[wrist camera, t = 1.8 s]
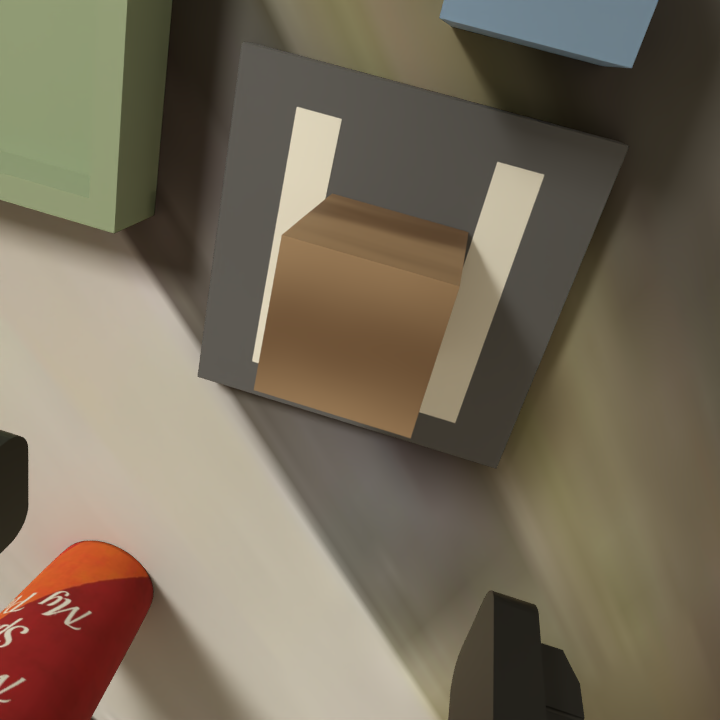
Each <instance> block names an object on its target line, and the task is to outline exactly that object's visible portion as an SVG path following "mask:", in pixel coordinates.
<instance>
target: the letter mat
mask: <svg viewBox="0 0 720 720" xmlns="http://www.w3.org/2000/svg"><path fill="white" fill-rule="evenodd" d="M628 148H629V146H628V145H626V144H625V143H623V142H619V141H616V140H612V139H608V138H605V137H601V136H597V135H593V134H590V133H586V132H582V131H579V130H575V129H571V128H567V127H564V126H560V125H556V124H553V123H549V122H545V121H541V120H538V119H534V118H530V117H526V116H523V115H519V114H515V113H512V112H508V111H504V110H500V109H497V108H493V107H489V106H486V105H482V104H478V103H474V102H471V101H467V100H463V99H460V98H456V97H452V96H448V95H445V94H441V93H437V92H434V91H430V90H426V89H422V88H419V87H415V86H411V85H408V84H404V83H400V82H396V81H393V80H389V79H385V78H382V77H378V76H374V75H370V74H367V73H363V72H359V71H355V70H352V69H348V68H344V67H341V66H337V65H333V64H329V63H326V62H322V61H318V60H315V59H311V58H307V57H303V56H300V55H296V54H292V53H289V52H285V51H281V50H277V49H274V48H270V47H266V46H263V45H259V44H255V43H249V42H242V46H241V53H240V61H239V68H238V76H237V83H236V91H235V99H234V106H233V114H232V121H231V129H230V136H229V144H228V151H227V159H226V166H225V174H224V182H223V189H222V197H221V204H220V212H219V219H218V227H217V234H216V242H215V249H214V257H213V265H212V272H211V280H210V287H209V295H208V302H207V310H206V317H205V325H204V333H203V340H202V348H201V355H200V363H199V370H198V377H200V378H204V379H207V380H210V381H213V382H217V383H220V384H223V385H226V386H230V387H233V388H236V389H239V390H243V391H246V392H249V393H252V394H256V395H259V396H262V397H265V398H268V399H272V400H275V401H278V402H281V403H285V404H288V405H291V406H294V407H298V408H301V409H304V410H307V411H311V412H314V413H317V414H320V415H324V416H327V417H330V418H333V419H337V420H340V421H343V422H346V423H350V424H353V425H356V426H359V427H363V428H366V429H369V430H372V431H376V432H379V433H382V434H385V435H389V436H392V437H395V438H398V439H402V440H405V441H408V442H411V443H415V444H418V445H421V446H424V447H427V448H431V449H434V450H437V451H440V452H444V453H447V454H450V455H453V456H457V457H460V458H463V459H466V460H470V461H473V462H476V463H479V464H483V465H486V466H489V467H492V468H497V466H498V463H499V461H500V459H501V456H502V454H503V451H504V449H505V446H506V444H507V442H508V439H509V437H510V434H511V432H512V430H513V427H514V425H515V422H516V420H517V417H518V415H519V413H520V410H521V408H522V405H523V403H524V400H525V398H526V396H527V393H528V391H529V388H530V386H531V383H532V381H533V379H534V376H535V374H536V371H537V369H538V366H539V364H540V362H541V359H542V357H543V354H544V352H545V349H546V347H547V345H548V342H549V340H550V337H551V335H552V332H553V330H554V328H555V325H556V323H557V320H558V318H559V315H560V313H561V311H562V308H563V306H564V303H565V301H566V298H567V296H568V294H569V291H570V289H571V286H572V284H573V281H574V279H575V277H576V274H577V272H578V269H579V267H580V264H581V262H582V260H583V257H584V255H585V252H586V250H587V247H588V245H589V243H590V240H591V238H592V235H593V233H594V230H595V228H596V226H597V223H598V221H599V218H600V216H601V213H602V211H603V209H604V206H605V204H606V201H607V199H608V196H609V194H610V192H611V189H612V187H613V184H614V182H615V179H616V177H617V175H618V172H619V170H620V167H621V165H622V162H623V160H624V158H625V155H626V153H627V150H628ZM331 194H336V195H339V196H343V197H346V198H350V199H353V200H357V201H360V202H364V203H367V204H371V205H375V206H378V207H382V208H385V209H389V210H392V211H396V212H399V213H403V214H406V215H410V216H413V217H417V218H420V219H424V220H428V221H431V222H435V223H438V224H442V225H445V226H449V227H452V228H456V229H459V230H463V231H466V232H469V233H468V239H467V245H466V252H465V258H464V264H463V270H462V277H461V283H460V288H459V291H458V294H457V297H456V300H455V303H454V306H453V309H452V312H451V315H450V319H449V322H448V325H447V328H446V331H445V334H444V337H443V340H442V343H441V346H440V349H439V352H438V355H437V358H436V362H435V365H434V368H433V371H432V374H431V377H430V380H429V383H428V386H427V389H426V392H425V395H424V398H423V401H422V404H421V408H420V411H419V414H418V417H417V420H416V423H415V426H414V429H413V432H412V435H411V438H408V437H405V436H402V435H398V434H395V433H392V432H389V431H385V430H382V429H379V428H376V427H372V426H369V425H366V424H363V423H359V422H356V421H353V420H350V419H346V418H343V417H340V416H337V415H333V414H330V413H327V412H324V411H320V410H317V409H314V408H311V407H307V406H304V405H301V404H298V403H294V402H291V401H288V400H285V399H281V398H278V397H275V396H272V395H268V394H265V393H262V392H259V391H255V390H254V385H255V380H256V374H257V369H258V363H259V358H260V352H261V347H262V341H263V336H264V330H265V325H266V319H267V314H268V308H269V302H270V297H271V291H272V286H273V280H274V275H275V269H276V264H277V258H278V253H279V247H280V242H281V236H282V234H283V233H285V232H286V231H287V230H288V229H289V228H291V227H292V226H293V225H294V224H296V223H297V222H298V221H299V220H300V219H302V218H303V217H304V216H305V215H306V214H308V213H309V212H310V211H311V210H313V209H314V208H315V207H316V206H317V205H319V204H320V203H321V202H322V201H323V200H325V199H326V198H327V197H328V196H330V195H331Z"/></svg>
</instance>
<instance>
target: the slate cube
mask: <svg viewBox="0 0 720 720" xmlns="http://www.w3.org/2000/svg"><path fill="white" fill-rule="evenodd" d="M657 3H658V0H444V2H443V6H442V10H441V13H440V17H439V18H440V19H442V20H443V21H444V22H446V23H447V24H449V25H450V26H451V27H455V28H459V29H463V30H466V31H470V32H474V33H478V34H482V35H486V36H489V37H493V38H497V39H501V40H505V41H508V42H512V43H516V44H520V45H524V46H527V47H531V48H535V49H539V50H543V51H546V52H550V53H554V54H558V55H562V56H565V57H569V58H573V59H577V60H581V61H585V62H588V63H592V64H596V65H600V66H606V67H621V68H632V66H633V64H634V61H635V59H636V56H637V53H638V51H639V48H640V46H641V43H642V41H643V38H644V36H645V33H646V31H647V28H648V25H649V23H650V20H651V18H652V15H653V13H654V10H655V8H656V5H657Z"/></svg>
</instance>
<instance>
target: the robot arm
mask: <svg viewBox="0 0 720 720" xmlns="http://www.w3.org/2000/svg"><path fill="white" fill-rule="evenodd" d="M27 511H28V444H27V441H26V440H25V439H24V438H23V437H21V436H18V435H15V434H12V433H9V432H6V431H2V430H0V553H1V552H2V551H3V550H4V549H5V548H6V547H7V546H8V545H9V544H10V543H11V542H12V541H13V540H14V539H15V537H16V536H17V535H18V533H19V531H20V530H21V528H22V526H23V524H24V521H25V519H26V515H27ZM448 720H584V712H583V704H582V697H581V689H580V683H579V681H578V679H577V677H576V675H575V673H574V672H573V670H572V668H571V666H570V664H569V662H568V660H567V658H566V656H565V654H564V652H563V650H561V649H558V648H554V647H551V646H548V645H545V644H542V643H541V639H540V626H539V614H538V609H537V607H536V605H534V604H531V603H528V602H525V601H522V600H519V599H516V598H513V597H510V596H506V595H503V594H500V593H497V592H494V591H489V592H488V593H487V594H486V596H485V598H484V600H483V602H482V604H481V606H480V609H479V611H478V613H477V615H476V617H475V620H474V622H473V624H472V626H471V629H470V631H469V633H468V635H467V637H466V640H465V642H464V644H463V646H462V648H461V651H460V653H459V656H458V659H457V662H456V666H455V669H454V674H453V679H452V684H451V692H450V704H449V718H448Z"/></svg>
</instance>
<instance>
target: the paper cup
mask: <svg viewBox="0 0 720 720" xmlns="http://www.w3.org/2000/svg"><path fill="white" fill-rule="evenodd" d="M152 600H153V586H152V582H151V580H150V577H149V575H148V574H147V572H146V570H145V569H144V568H143V567H142V565H141V564H140V563H139V562H138V561H137V560H136V559H135V558H134V557H132V556H131V555H130V554H128V553H127V552H125V551H124V550H122V549H120V548H118V547H116V546H114V545H111V544H108V543H105V542H100V541H82V542H78V543H75V544H73V545H71V546H70V547H68V548H67V549H66V550H65V551H64V552H62V553H61V554H60V555H59V556H58V557H57V558H56V559H55V560H54V561H53V562H52V563H51V564H50V565H49V566H47V567H46V568H45V569H44V570H43V571H42V572H41V573H40V574H39V575H38V576H37V577H36V578H35V579H34V580H33V581H32V582H31V583H30V584H29V585H28V586H27V587H26V588H25V589H24V590H23V591H22V592H21V593H20V594H19V595H18V596H17V597H16V598H15V599H14V600H13V601H12V602H11V603H10V604H9V605H8V606H7V607H6V608H5V609H4V610H3V611H2V612H1V613H0V720H90V719H91V717H92V715H93V713H94V711H95V710H96V708H97V706H98V704H99V702H100V700H101V698H102V697H103V695H104V693H105V691H106V689H107V687H108V686H109V684H110V682H111V680H112V678H113V676H114V675H115V673H116V671H117V669H118V667H119V665H120V663H121V662H122V660H123V658H124V656H125V654H126V652H127V650H128V648H129V647H130V645H131V643H132V641H133V639H134V637H135V635H136V633H137V632H138V630H139V628H140V626H141V624H142V622H143V620H144V618H145V616H146V614H147V612H148V610H149V608H150V605H151V603H152Z"/></svg>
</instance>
